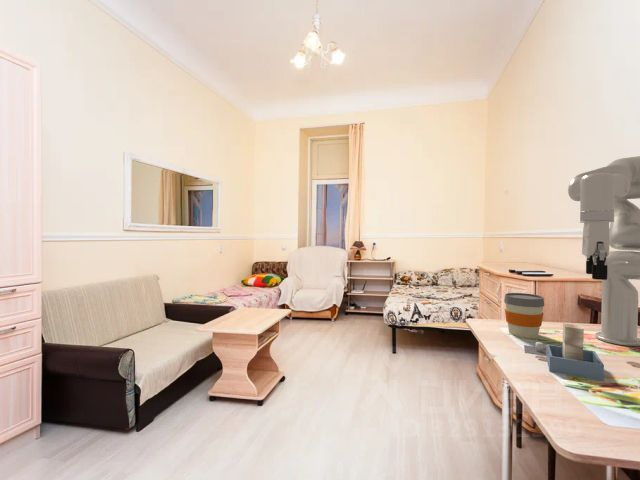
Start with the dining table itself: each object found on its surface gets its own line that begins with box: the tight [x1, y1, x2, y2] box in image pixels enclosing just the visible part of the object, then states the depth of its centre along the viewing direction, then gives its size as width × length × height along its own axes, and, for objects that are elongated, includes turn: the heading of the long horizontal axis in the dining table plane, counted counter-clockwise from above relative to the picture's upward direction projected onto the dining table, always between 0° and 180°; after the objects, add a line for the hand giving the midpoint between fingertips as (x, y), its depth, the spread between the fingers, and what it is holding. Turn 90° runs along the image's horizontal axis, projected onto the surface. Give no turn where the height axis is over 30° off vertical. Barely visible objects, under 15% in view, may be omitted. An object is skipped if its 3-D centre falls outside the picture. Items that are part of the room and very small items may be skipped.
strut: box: [562, 323, 585, 361], centre depth 91 cm, size 4×4×12 cm
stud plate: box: [523, 341, 546, 357], centre depth 104 cm, size 8×8×4 cm
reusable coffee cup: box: [503, 292, 545, 339], centre depth 122 cm, size 13×13×15 cm
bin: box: [545, 343, 605, 382], centre depth 91 cm, size 11×11×5 cm
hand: (596, 276), depth 96 cm, fingers open, 9 cm apart
